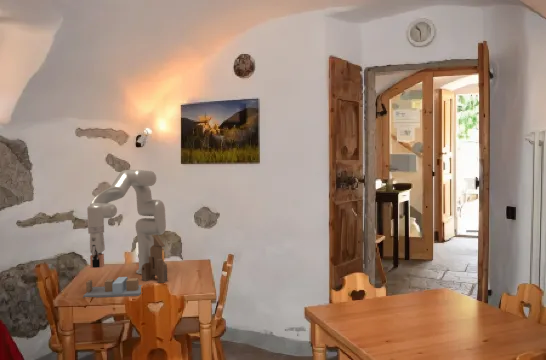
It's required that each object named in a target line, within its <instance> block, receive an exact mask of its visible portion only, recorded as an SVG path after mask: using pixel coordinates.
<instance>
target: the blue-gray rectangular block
mask: <svg viewBox="0 0 546 360" xmlns="http://www.w3.org/2000/svg"><path fill="white" fill-rule="evenodd" d="M128 279H129V278H128V276H118V277H117V278H116V279H114V282H113V283H112V288H113V294H116V293H123V292H124V290H125V289H126V288H127V287H126V281H127V280H128Z"/></svg>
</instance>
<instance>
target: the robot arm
mask: <svg viewBox="0 0 546 360" xmlns="http://www.w3.org/2000/svg"><path fill="white" fill-rule="evenodd" d="M156 183H157V175H156V174H155V172H154V171H152V170H144V169H124V170H121V171H120V173H119V174H118V175H117V176H116V179H115V180H114V181H113V182H112V184H111V185H110V187H108V188H106V189H105V190H103V191H101V192H99V193H98V194H97V195H96V196H95V197H94V198H93V199H92V200H91V202H90V204H89V206H88V207H87V209H86V210H87V211H86V212H87V230H88V231H87V233H88V234H89V251H90V254H91V255H92V262H93V268H92V269H95V268H97V269H98V267H100V265H99V254H103V252H104V251H105V250H106V248H105V237H104V236H105V235H104V233H105V221H104V220H105V219H111V218H114V217H115V216H116V215H117V213H118V209H117V206H116V205H115V204H114V203H111V202H114V201H117V200H120V199H122V198H124V197H125V196H126V194H127V193H128V191H129V189H130V188H131V187H132V188H133V189H134V191H135V195H136V210H137V211H136V212H137V213H138V215H139V216H141V217H142V218H139V219H138V220H136V222H135V231H136V235H137V237H136V238H137V251H138V253H137V254H138V269H136V271H135V272H136V274H138V275H142V266H143V264H145V263H149V257H150V248H151V247H152V246H153V245H154V237H153V236H154V235H158V236H160V235H163V234H164V233H165V232H166V226H167V224H166V223H167V221H166V207H165V204H164V202H163V201H162V200H160V199H153V198H152V197H153V196H152V190H151V187H152V186H154V185H155V184H156ZM152 217H153V218H152ZM95 254H97V255H95ZM100 268H101V267H100Z"/></svg>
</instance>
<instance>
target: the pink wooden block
mask: <svg viewBox="0 0 546 360" xmlns="http://www.w3.org/2000/svg"><path fill="white" fill-rule="evenodd" d="M95 255H97V254H95ZM89 257H90V258H89V261H90V265H89V266H90V268H91V269H94V268H93V262H92V254H90V255H89ZM99 265H100V267H98V268H99V269H100V268H103V267H104V266H105V254H104V253H102V254H99ZM98 268H97V269H98Z"/></svg>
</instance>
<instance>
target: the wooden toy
mask: <svg viewBox="0 0 546 360" xmlns="http://www.w3.org/2000/svg"><path fill="white" fill-rule="evenodd" d="M152 237H153V238H154V245H153V246H152V247H151V248H150V257H149V263H145V264H143V266H142V274H141V281H143V282H144V281H145V282H147V281H151V280H155V278H156V277H157V284H159V283H162V284H164V283H165V282H169V281H168V265H167V263H166V262H165V261H164V258H163V247H165V243H164V242H163V241H162V239H161V237H160V236H159V235H152Z"/></svg>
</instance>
